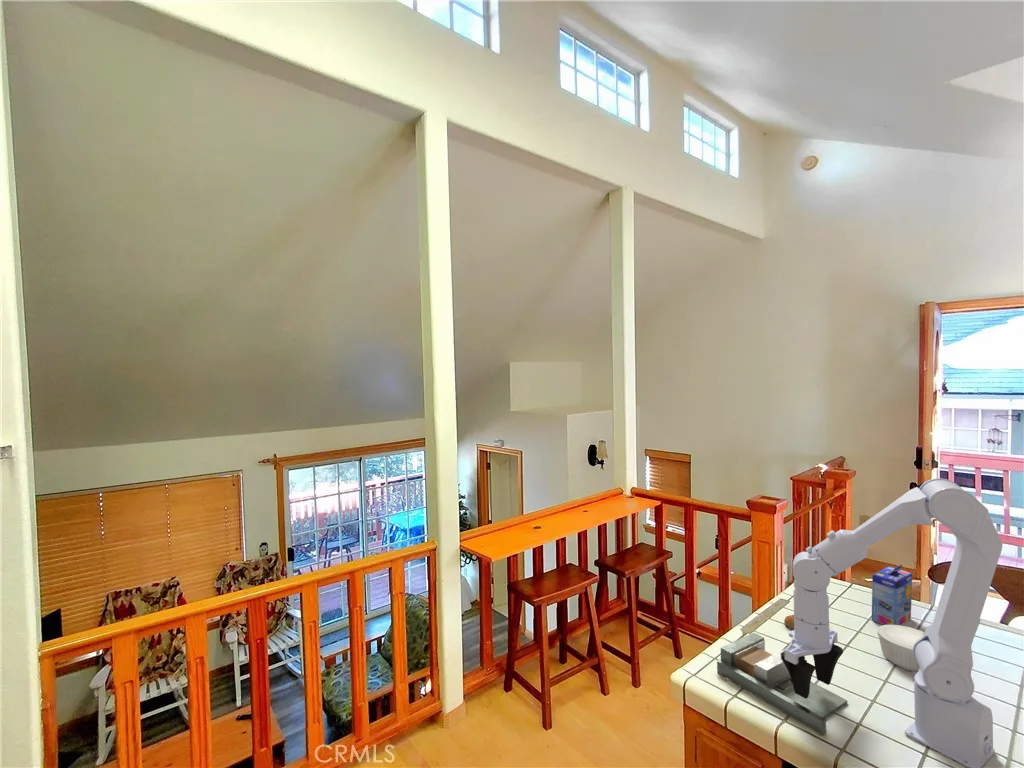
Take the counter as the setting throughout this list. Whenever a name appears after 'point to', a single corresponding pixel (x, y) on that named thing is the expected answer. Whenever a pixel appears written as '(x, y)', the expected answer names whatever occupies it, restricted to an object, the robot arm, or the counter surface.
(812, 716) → the vise body
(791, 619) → the pastry
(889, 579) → the ink cartridge box
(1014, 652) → the counter surface
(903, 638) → the ramekin
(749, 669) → the block
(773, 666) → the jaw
